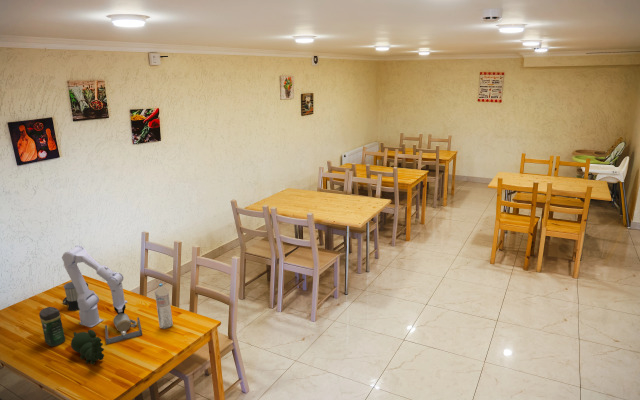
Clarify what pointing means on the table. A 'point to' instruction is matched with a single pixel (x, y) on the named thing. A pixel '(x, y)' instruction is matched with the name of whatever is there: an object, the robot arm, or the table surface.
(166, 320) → the water bottle
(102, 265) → the robot arm
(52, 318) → the coffee jar
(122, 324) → the ceramic mug
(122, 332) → the coupler cradle
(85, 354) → the toy figurine
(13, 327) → the table surface
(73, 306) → the milk frother
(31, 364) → the table surface
